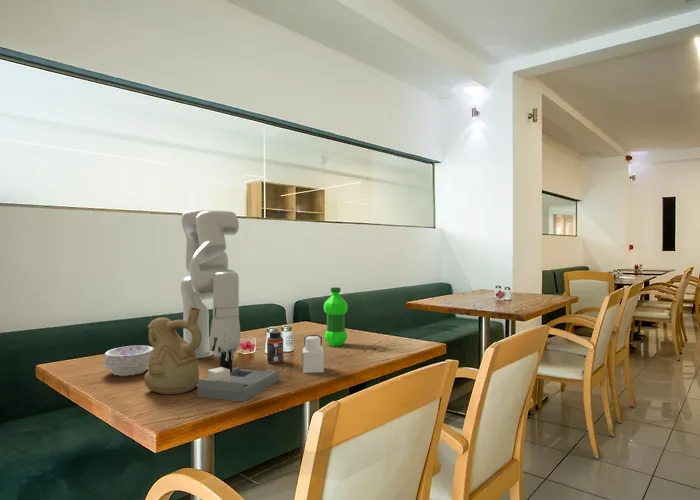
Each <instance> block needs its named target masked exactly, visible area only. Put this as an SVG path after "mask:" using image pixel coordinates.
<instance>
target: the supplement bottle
mask: <svg viewBox="0 0 700 500" xmlns="http://www.w3.org/2000/svg"><path fill="white" fill-rule="evenodd" d="M266 346H267V347H266V350H267V351H266V353H267V354H266V362H267V363H268V364H273V365H275V364H282V363H283V362H284V338H283V337H282V336H281V331H279V330H274V331H270V332H269V337H268V338H267V340H266Z"/></svg>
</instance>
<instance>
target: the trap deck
mask: <svg viewBox="0 0 700 500" xmlns="http://www.w3.org/2000/svg"><path fill="white" fill-rule="evenodd" d="M197 380H198V384H197V397H198V398H199V397H200V398H206V399H216V400H217V399H218V400H225V401H235V402H241V403H243V402H246V401H247V400H248V399H251V398H252V397H254V396H255V395H257V394H259V393H261V392H262V391H264V390H265V389H268V388H269V387H270V386H272V385H274V384H276V383H277V382H280V369H276V370H275V371H265V370H255V369H254V370H252V369H243V368H242V369H241V366H239V365H238V366H237V367H234V368H232V372H231V373H230V382H227V381H218V380H208V378H206V379H205V378H199V379H197Z"/></svg>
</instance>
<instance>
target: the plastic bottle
mask: <svg viewBox="0 0 700 500" xmlns="http://www.w3.org/2000/svg"><path fill="white" fill-rule="evenodd" d="M330 292H331V296H329V298H327V300H325V302H324V304H323V311H324V313H326V331H325V333H324V339H325V341H326V343H327V344H328V345H329V346H330V345H331V347H342V345H343V344H345V342H346V341H347V339H348V333H347V331H346V313H347V312H348V309H349V307H348V306H349V305H348V303H347V302H348V301H346V300H345V299H344V298H343V297H341V296H340V293H341V287H339V286H338V287H336V286H334V287H330Z"/></svg>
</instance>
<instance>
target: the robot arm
mask: <svg viewBox="0 0 700 500" xmlns="http://www.w3.org/2000/svg"><path fill="white" fill-rule="evenodd" d="M239 224H240V222H239V219H238V217H237V214H236V212H233V211H228V210H209V209H208V210H207V209H189V210H185V211H184V212H183V213H182V215H181V226H182V229H183V232H184V234H185V238H186V247H185V248H186V249H185V268H186V271H187V272H188V273H189V276H186V277H184V278H183V279H182V280H181V282H180V292H181V293H180V294H181V297H182V298H181V299H182V307H183V314H182V315H183V319H182V320H188V316H189V309H190V308H198V309H199V310H200V312H199V315H198V319H197V326H198V327H199V329H200V331H201V337H202V338H201V343H200V345H199V347H198V348H197V349H196V350H195V353H196V358H197V360H198V359H204V358H208V357H212V355H213V356H214V357H215V358H216V357H217V358H218V360H219V367H223V368H227V369H230V373H231V372H232V369H233V359H234V353H235V352H236V351H237V350H238V347H239V346H240V344H241V325H240V319H239V318H240V317H239V315H240V312H239V311H240V308H239V307H240V305H239V304H240V303H239V302H240V297H239V296H240V295H239V294H240V291H239V289H240V288H239V287H240V286H239V282H240V277H239V274H238V273H237V272H236V271H235V270H233V269H230V268H229V258H228V254H227V252H226V249H227V242H226V238H225V236H234V235H236V234H237V233H238V231H239V228H240V225H239ZM205 300H212V317H213V318H212V319H211V323H210V322H209V319H210V318H209V316H210V313H209V309H208V306H206V305H205V303H203V301H205ZM209 324H210V326H209ZM183 340H185V341H186V342H187V343H190V342H191V341H192V333H191V332H190V331H189V330H188V329H185V328H183Z"/></svg>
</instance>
